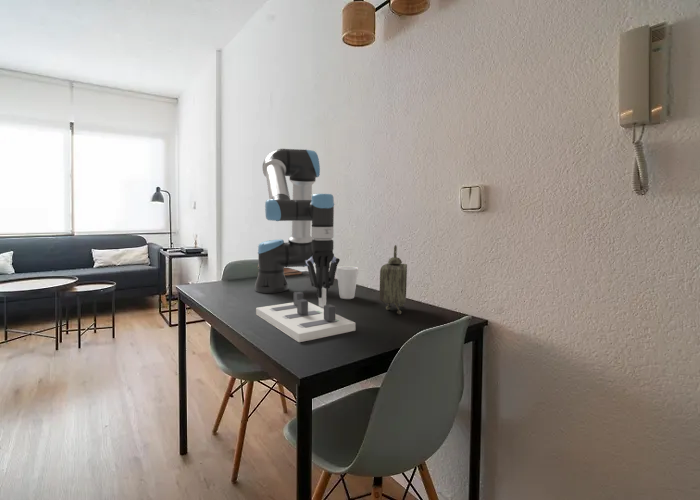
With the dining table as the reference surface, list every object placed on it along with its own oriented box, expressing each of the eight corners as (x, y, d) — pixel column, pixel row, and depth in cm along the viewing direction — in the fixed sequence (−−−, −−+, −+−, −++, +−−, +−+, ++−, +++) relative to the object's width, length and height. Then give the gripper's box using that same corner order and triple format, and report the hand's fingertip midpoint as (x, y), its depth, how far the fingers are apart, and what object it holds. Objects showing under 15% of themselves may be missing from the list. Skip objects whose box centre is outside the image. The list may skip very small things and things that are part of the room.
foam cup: (350, 300, 160) (350, 270, 158) (332, 297, 165) (332, 268, 163) (361, 296, 168) (362, 267, 166) (343, 293, 173) (344, 265, 171)
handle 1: (293, 304, 141) (293, 292, 141) (299, 303, 142) (299, 291, 142) (297, 306, 139) (297, 294, 138) (303, 305, 140) (303, 293, 139)
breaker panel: (256, 314, 138) (256, 307, 138) (305, 306, 149) (305, 300, 149) (298, 342, 110) (298, 333, 110) (355, 330, 121) (355, 322, 121)
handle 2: (323, 319, 123) (323, 305, 122) (330, 317, 124) (330, 304, 124) (328, 321, 121) (328, 307, 120) (335, 320, 122) (335, 306, 121)
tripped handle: (297, 312, 130) (297, 299, 129) (303, 311, 131) (303, 299, 131) (301, 315, 127) (301, 301, 127) (307, 313, 129) (307, 300, 128)
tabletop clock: (403, 316, 138) (405, 247, 135) (378, 314, 140) (380, 246, 137) (405, 306, 152) (407, 243, 149) (383, 304, 154) (384, 243, 151)
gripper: (311, 240, 124) (311, 311, 127) (344, 239, 131) (343, 306, 134) (300, 239, 130) (300, 306, 133) (332, 237, 138) (332, 301, 140)
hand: (322, 306), depth 133 cm, fingers closed
